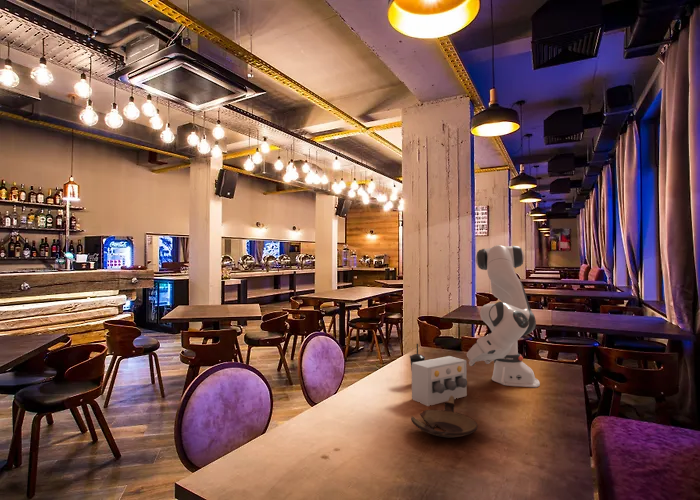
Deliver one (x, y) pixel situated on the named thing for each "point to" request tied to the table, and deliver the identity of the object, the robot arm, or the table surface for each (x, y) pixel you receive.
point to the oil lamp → (446, 422)
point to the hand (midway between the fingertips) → (478, 363)
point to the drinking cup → (416, 357)
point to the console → (437, 379)
